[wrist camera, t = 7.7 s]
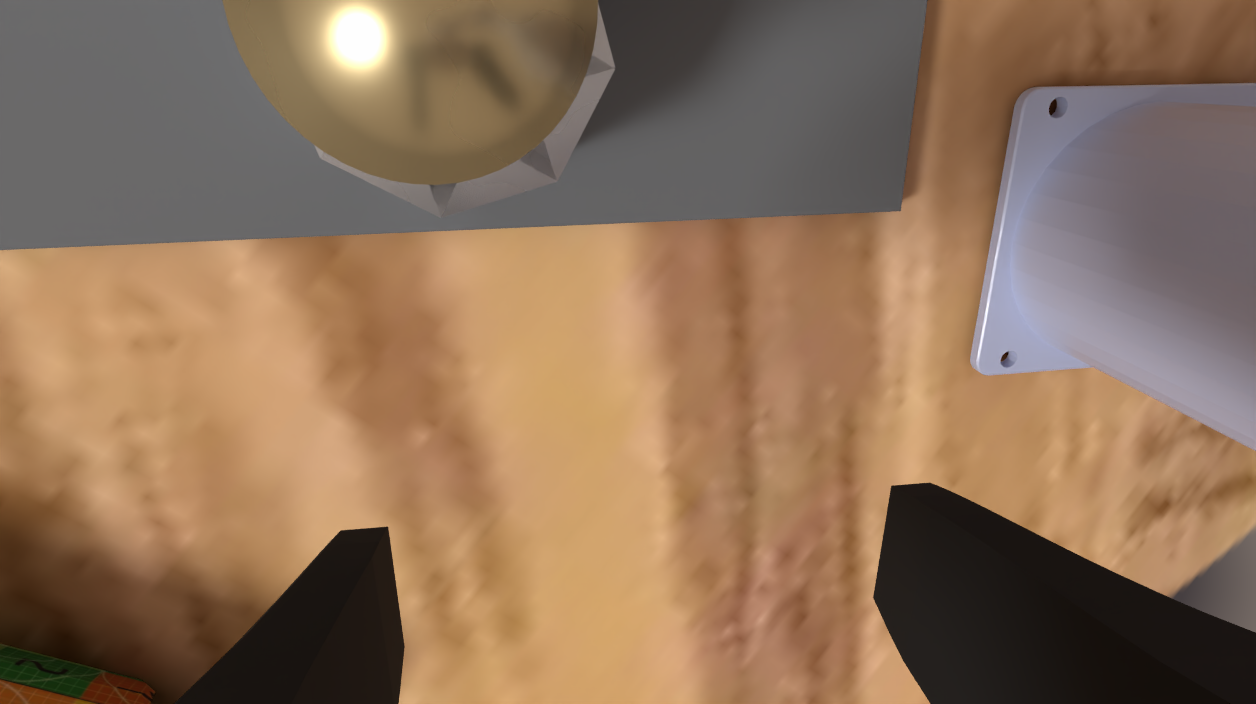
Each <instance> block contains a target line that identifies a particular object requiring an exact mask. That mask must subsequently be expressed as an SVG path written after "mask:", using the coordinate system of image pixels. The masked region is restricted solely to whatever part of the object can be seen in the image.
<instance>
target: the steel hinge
mask: <svg viewBox="0 0 1256 704" xmlns="http://www.w3.org/2000/svg"><path fill="white" fill-rule="evenodd" d="M614 70H615V65H614V61H613V57H612V53H611V50H610V46H609V42H608V38H607V34H606V31H605V27H604V23H603V19H602V16H601V12H600V8H599V4H598V17H597V30H596V36H595V42H594V49H593V53H592V56H591V60H590V63H589V67H588V70H587V73H586V76H585V78H584V80H583V83H582V85H581V87H580V90H579V92H578V94H577V96H576V98H575V99H574V101H573V103H572V104H571V106H570V108H569V109H568V111H567V113H566V114H565V116H564V117H563V118H562V119H561V121H560V122H559V123H558V125H557V126H556V127H555V128H554V130H553V131H552V132H551V133H550V134H549V135H548V136H547V137H546V138H545V139H544V140H543V141H542V142H541V143H540V144H539V145H538V146H537V147H535V148H534V149H533V150H531V151H530V152H528V153H527V154H526V155H524V156H523V157H522V158H520V159H519V160H517V161H515V162H514V163H512V164H510V165H508V166H506V167H504V168H503V169H501V170H499V171H496V172H493V173H491V174H488V175H485V176H483V177H480V178H476V179H472V180H468V181H464V182H459V183H450V184H440V185H424V184H409V183H403V182H397V181H391V180H387V179H384V178H380V177H377V176H373V175H370V174H367V173H365V172H362V171H360V170H358V169H355V168H353V167H351V166H348V165H346V164H344V163H342V162H341V161H339V160H337V159H335V158H334V157H332V156H330V155H328V154H327V153H325V152H323V151H322V150H321V149H319V148H318V147H317V146H315V145H314V146H315V148H316V150H317V152H318V155H319V157H320V158H321V159H322V160H324V161H326V162H328V163H330V164H332V165H334V166H336V167H338V168H340V169H343V170H345V171H347V172H349V173H351V174H353V175H355V176H357V177H359V178H361V179H363V180H365V181H367V182H369V183H371V184H373V185H375V186H377V187H379V188H381V189H383V190H385V191H387V192H389V193H391V194H393V195H395V196H397V197H399V198H401V199H403V200H406V201H408V202H410V203H412V204H414V205H416V206H418V207H420V208H422V209H424V210H426V211H428V212H430V213H432V214H434V215H436V216H438V217H440V218H442V217H446V216H449V215H452V214H455V213H458V212H462V211H465V210H468V209H471V208H475V207H478V206H481V205H484V204H487V203H491V202H494V201H497V200H500V199H504V198H507V197H510V196H513V195H516V194H520V193H523V192H526V191H529V190H533V189H536V188H539V187H542V186H545V185H549V184H552V183H555V182H557V181H558V180H559V178H560V176H561V174H562V172H563V170H564V168H565V166H566V164H567V162H568V160H569V158H570V156H571V154H572V152H573V150H574V148H575V146H576V144H577V143H578V141H579V139H580V137H581V135H582V133H583V131H584V129H585V127H586V125H587V123H588V121H589V119H590V117H591V115H592V113H593V111H594V109H595V107H596V105H597V103H598V102H599V100H600V98H601V96H602V94H603V92H604V90H605V88H606V86H607V84H608V82H609V80H610V78H611V76H612V74H613V72H614Z"/></svg>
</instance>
